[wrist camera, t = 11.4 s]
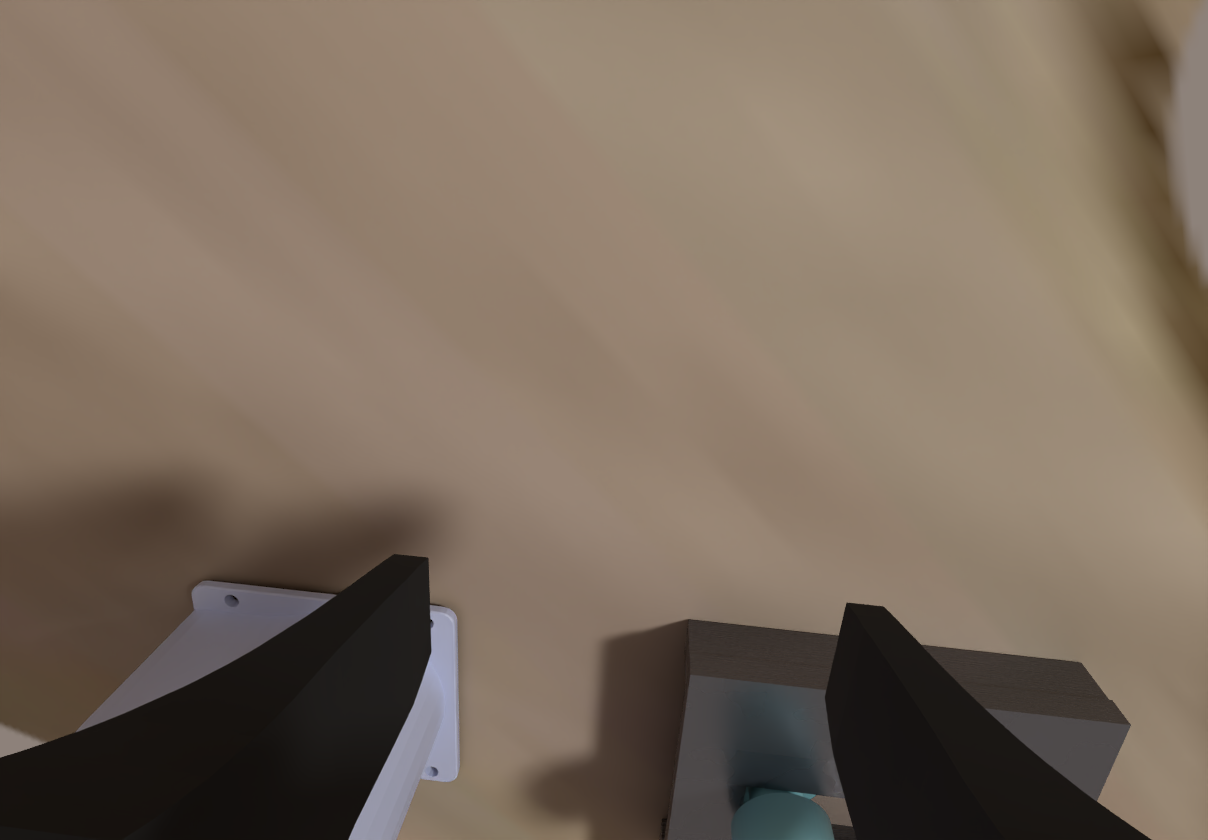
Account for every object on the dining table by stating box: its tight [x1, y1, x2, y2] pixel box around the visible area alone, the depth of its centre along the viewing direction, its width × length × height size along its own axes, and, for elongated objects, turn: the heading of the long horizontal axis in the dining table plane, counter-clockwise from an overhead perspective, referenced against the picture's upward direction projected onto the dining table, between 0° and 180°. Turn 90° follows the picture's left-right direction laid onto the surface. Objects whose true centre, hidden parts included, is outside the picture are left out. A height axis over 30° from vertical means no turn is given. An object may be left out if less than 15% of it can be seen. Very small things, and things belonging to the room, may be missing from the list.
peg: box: [731, 786, 834, 840], centre depth 23 cm, size 4×4×7 cm
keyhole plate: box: [659, 620, 1131, 840], centre depth 25 cm, size 13×11×3 cm
